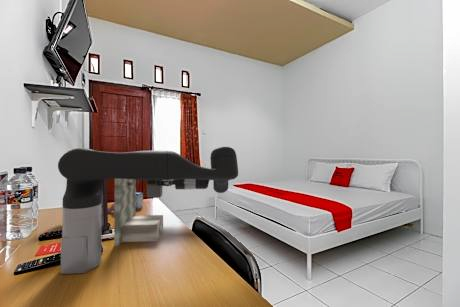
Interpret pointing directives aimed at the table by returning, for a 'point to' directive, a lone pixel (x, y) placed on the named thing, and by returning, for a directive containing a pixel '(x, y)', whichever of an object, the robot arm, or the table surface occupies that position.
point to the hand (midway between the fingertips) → (149, 181)
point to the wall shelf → (132, 216)
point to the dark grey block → (154, 190)
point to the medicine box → (139, 200)
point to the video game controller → (112, 209)
